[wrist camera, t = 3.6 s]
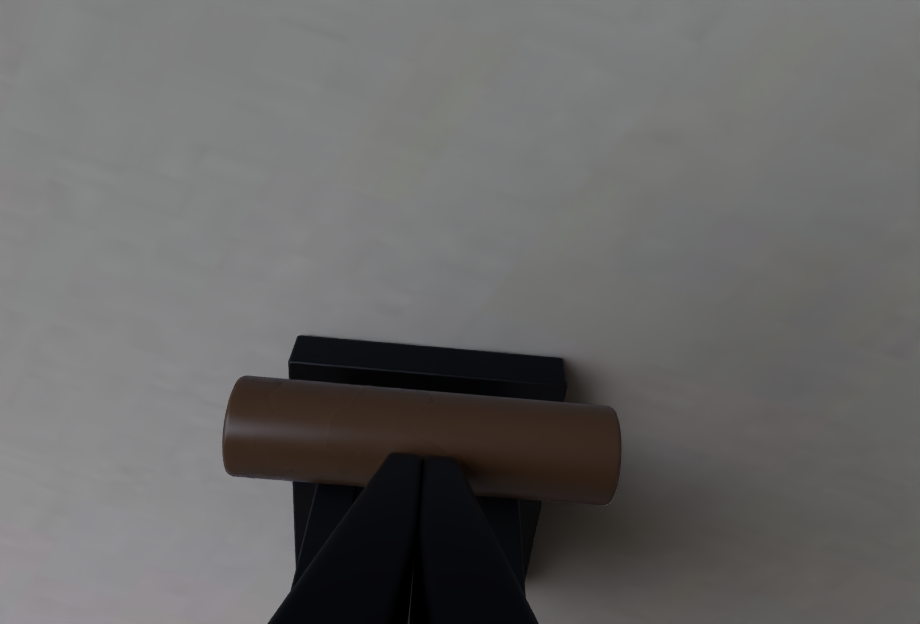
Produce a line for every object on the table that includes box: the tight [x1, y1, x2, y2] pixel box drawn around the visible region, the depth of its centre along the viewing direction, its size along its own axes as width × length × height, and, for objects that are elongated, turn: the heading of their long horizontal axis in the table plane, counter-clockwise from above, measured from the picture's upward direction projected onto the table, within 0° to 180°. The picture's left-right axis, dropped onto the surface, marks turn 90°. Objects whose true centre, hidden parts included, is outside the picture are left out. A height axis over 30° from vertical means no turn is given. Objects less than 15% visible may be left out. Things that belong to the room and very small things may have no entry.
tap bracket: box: [288, 336, 567, 597], centre depth 18 cm, size 9×7×10 cm
